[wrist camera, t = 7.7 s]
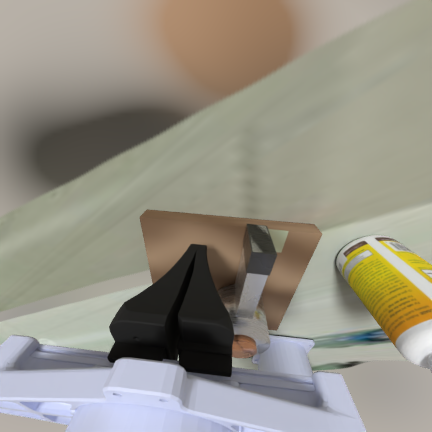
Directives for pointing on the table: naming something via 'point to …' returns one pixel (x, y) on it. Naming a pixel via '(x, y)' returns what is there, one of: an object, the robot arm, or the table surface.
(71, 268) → the table surface
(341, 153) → the table surface
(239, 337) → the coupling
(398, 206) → the table surface
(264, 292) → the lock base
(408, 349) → the supplement bottle
